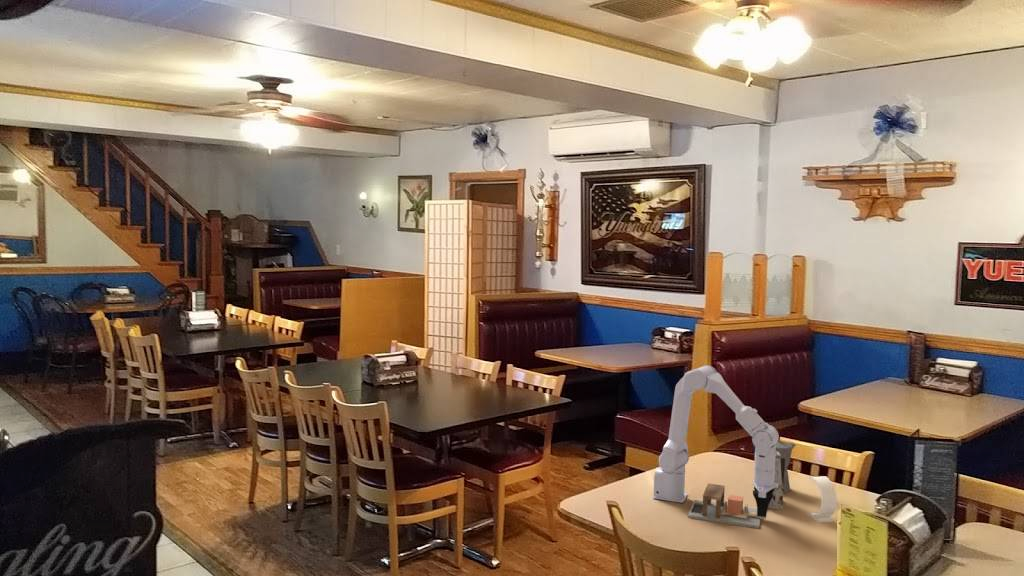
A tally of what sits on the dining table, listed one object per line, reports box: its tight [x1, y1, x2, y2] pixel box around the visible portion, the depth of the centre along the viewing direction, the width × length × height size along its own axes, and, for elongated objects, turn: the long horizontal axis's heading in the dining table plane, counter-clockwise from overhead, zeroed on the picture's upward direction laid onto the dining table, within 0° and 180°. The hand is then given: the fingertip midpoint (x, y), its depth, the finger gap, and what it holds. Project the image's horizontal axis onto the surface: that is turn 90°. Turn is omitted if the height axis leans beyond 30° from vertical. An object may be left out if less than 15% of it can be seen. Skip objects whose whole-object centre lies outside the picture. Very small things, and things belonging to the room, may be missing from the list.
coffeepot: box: [752, 435, 797, 494], centre depth 245 cm, size 15×9×18 cm, turn 103°
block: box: [727, 494, 744, 515], centre depth 222 cm, size 4×4×4 cm
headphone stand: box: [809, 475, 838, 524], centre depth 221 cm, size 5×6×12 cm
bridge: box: [702, 483, 726, 518], centre depth 225 cm, size 5×11×6 cm, turn 158°
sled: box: [721, 500, 768, 520], centre depth 222 cm, size 12×6×4 cm, turn 68°
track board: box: [687, 499, 762, 529], centre depth 224 cm, size 20×13×1 cm, turn 68°
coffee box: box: [768, 450, 785, 510], centre depth 233 cm, size 9×6×16 cm
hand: (762, 513), depth 220 cm, fingers closed on sled, 2 cm apart
